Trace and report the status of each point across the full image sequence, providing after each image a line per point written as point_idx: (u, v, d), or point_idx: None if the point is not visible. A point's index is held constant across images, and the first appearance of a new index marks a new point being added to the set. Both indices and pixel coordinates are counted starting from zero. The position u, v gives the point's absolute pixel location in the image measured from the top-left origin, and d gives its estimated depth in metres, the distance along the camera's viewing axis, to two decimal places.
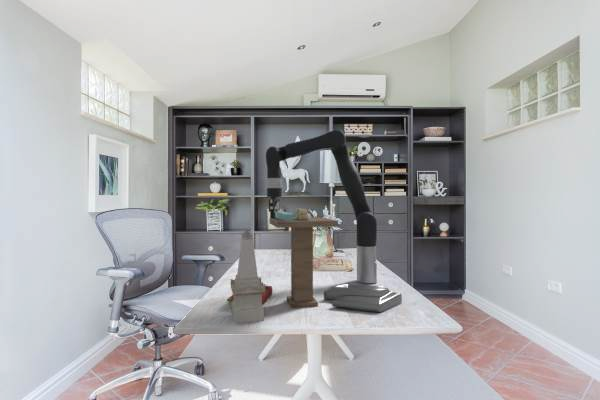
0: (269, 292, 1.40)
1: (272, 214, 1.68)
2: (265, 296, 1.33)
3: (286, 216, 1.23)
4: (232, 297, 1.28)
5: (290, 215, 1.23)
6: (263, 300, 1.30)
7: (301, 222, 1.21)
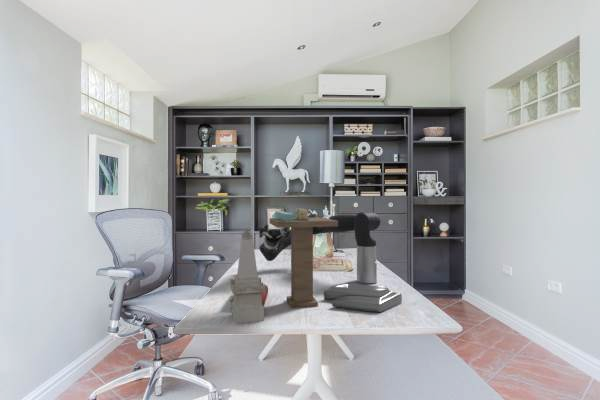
0: (267, 291, 1.41)
1: None
2: (265, 295, 1.34)
3: (286, 216, 1.23)
4: None
5: (290, 215, 1.23)
6: (265, 299, 1.31)
7: (301, 222, 1.21)
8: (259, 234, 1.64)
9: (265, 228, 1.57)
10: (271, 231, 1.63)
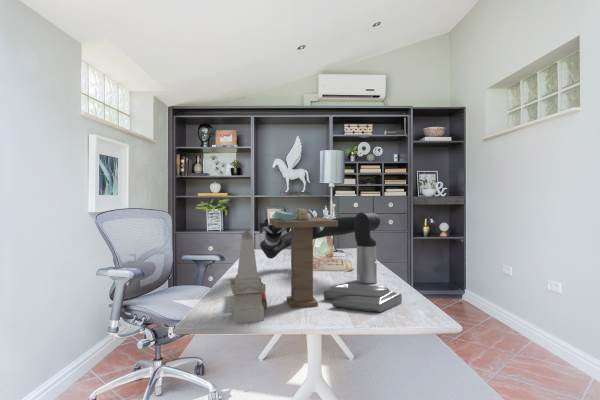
0: None
1: None
2: None
3: (286, 216, 1.23)
4: None
5: (290, 215, 1.23)
6: None
7: (301, 222, 1.21)
8: None
9: (265, 222, 1.51)
10: (271, 226, 1.57)
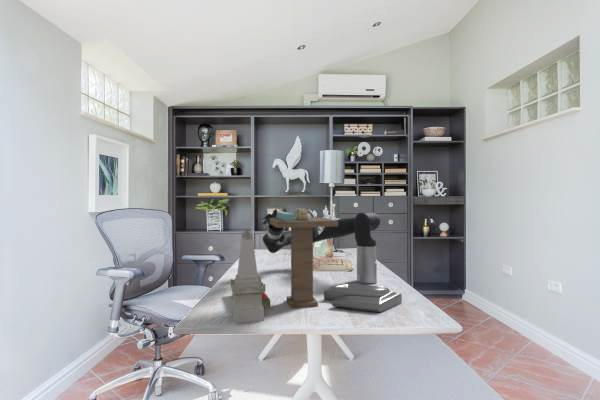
0: None
1: None
2: None
3: (286, 216, 1.23)
4: None
5: (290, 215, 1.23)
6: None
7: (301, 222, 1.21)
8: (263, 220, 1.51)
9: (274, 213, 1.45)
10: None
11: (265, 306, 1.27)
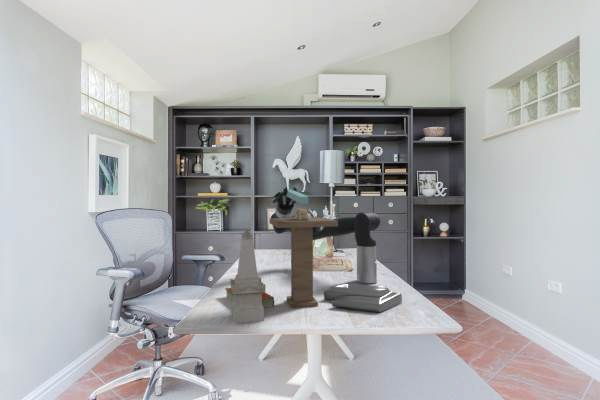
0: None
1: None
2: None
3: (301, 199, 1.23)
4: None
5: (305, 198, 1.24)
6: None
7: (301, 222, 1.21)
8: (273, 199, 1.51)
9: (285, 191, 1.45)
10: (287, 197, 1.52)
11: (269, 305, 1.28)
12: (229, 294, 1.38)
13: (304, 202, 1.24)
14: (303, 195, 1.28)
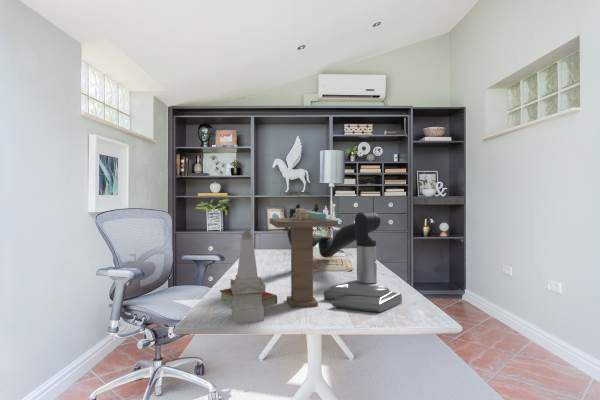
0: None
1: None
2: None
3: (318, 215, 1.25)
4: None
5: (322, 214, 1.26)
6: None
7: (301, 222, 1.21)
8: None
9: (297, 208, 1.48)
10: None
11: (273, 303, 1.31)
12: (226, 296, 1.35)
13: (322, 219, 1.26)
14: None
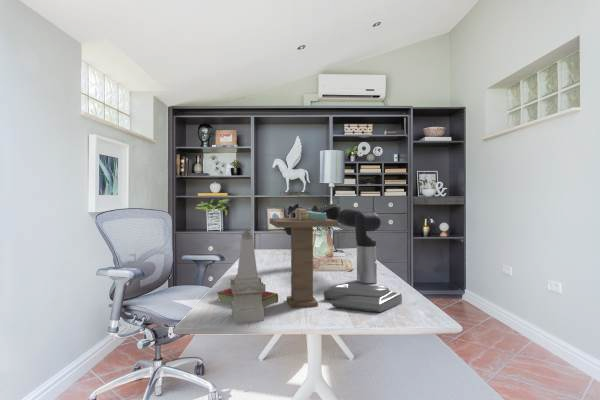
0: None
1: None
2: None
3: (318, 215, 1.25)
4: None
5: (322, 214, 1.26)
6: None
7: (301, 222, 1.21)
8: (287, 211, 1.66)
9: (295, 207, 1.58)
10: None
11: (274, 301, 1.32)
12: (224, 297, 1.33)
13: (322, 219, 1.26)
14: None
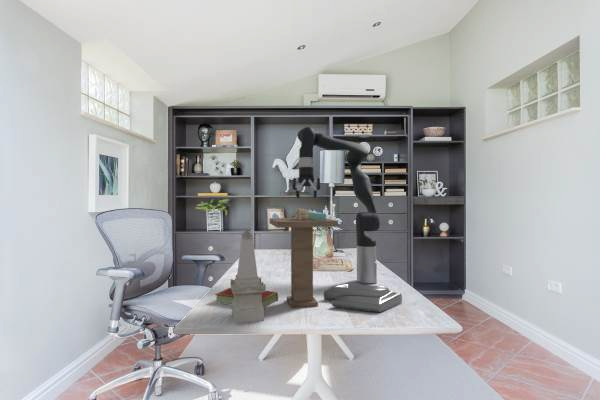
0: None
1: None
2: None
3: (318, 215, 1.25)
4: None
5: (322, 214, 1.26)
6: None
7: (301, 222, 1.21)
8: (293, 180, 1.77)
9: (296, 196, 1.78)
10: None
11: (275, 300, 1.34)
12: (224, 298, 1.32)
13: (322, 219, 1.26)
14: None
